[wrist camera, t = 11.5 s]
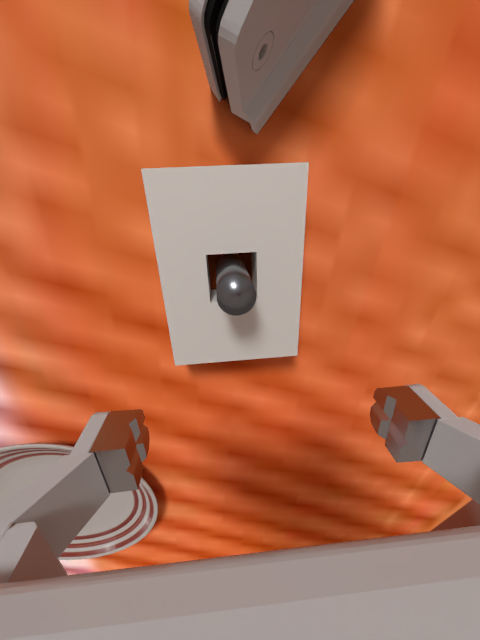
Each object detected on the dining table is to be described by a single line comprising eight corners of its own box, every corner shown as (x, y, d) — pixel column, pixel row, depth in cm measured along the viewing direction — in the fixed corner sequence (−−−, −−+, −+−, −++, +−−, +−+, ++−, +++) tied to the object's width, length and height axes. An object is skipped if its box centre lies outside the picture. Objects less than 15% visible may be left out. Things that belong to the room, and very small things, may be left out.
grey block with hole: (295, 167, 25) (308, 162, 21) (288, 337, 32) (297, 355, 29) (152, 172, 24) (141, 168, 20) (179, 346, 32) (175, 365, 28)
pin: (244, 252, 28) (256, 276, 20) (245, 280, 29) (256, 314, 21) (215, 254, 28) (214, 279, 19) (217, 282, 29) (218, 316, 21)
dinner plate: (172, 531, 48) (169, 554, 45) (11, 550, 46) (-4, 574, 43) (143, 415, 36) (137, 435, 33) (-75, 434, 34) (-103, 457, 31)
